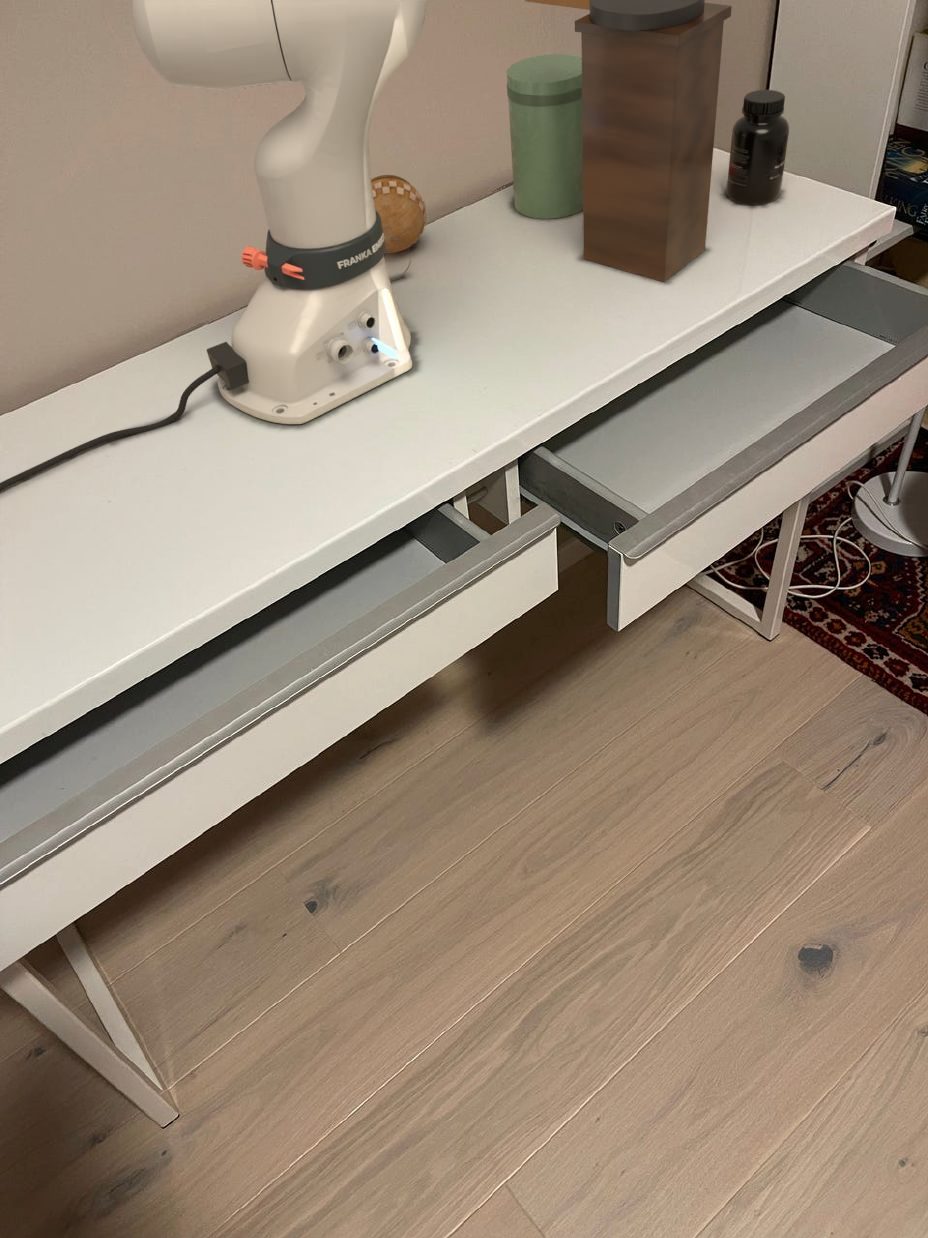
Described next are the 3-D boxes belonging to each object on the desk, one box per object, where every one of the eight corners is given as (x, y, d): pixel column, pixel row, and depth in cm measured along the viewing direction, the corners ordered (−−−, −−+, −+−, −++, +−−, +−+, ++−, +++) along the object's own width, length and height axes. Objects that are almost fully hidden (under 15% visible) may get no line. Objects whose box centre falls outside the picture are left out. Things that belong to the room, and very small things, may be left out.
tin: (559, 225, 128) (556, 88, 117) (498, 208, 133) (488, 75, 122) (605, 194, 133) (606, 60, 122) (544, 180, 138) (539, 49, 127)
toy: (445, 282, 122) (432, 204, 130) (417, 222, 115) (405, 143, 122) (375, 308, 124) (367, 230, 132) (343, 251, 117) (336, 172, 124)
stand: (665, 285, 115) (679, 35, 97) (577, 259, 122) (574, 20, 103) (711, 249, 120) (732, 5, 102) (623, 226, 126) (628, -8, 108)
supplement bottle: (785, 204, 127) (799, 103, 118) (730, 208, 127) (740, 108, 118) (774, 181, 131) (787, 83, 123) (722, 185, 132) (731, 88, 123)
